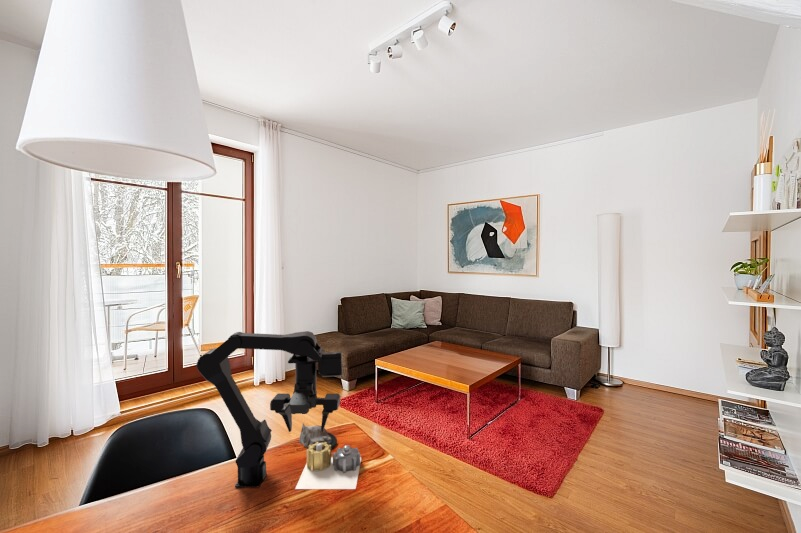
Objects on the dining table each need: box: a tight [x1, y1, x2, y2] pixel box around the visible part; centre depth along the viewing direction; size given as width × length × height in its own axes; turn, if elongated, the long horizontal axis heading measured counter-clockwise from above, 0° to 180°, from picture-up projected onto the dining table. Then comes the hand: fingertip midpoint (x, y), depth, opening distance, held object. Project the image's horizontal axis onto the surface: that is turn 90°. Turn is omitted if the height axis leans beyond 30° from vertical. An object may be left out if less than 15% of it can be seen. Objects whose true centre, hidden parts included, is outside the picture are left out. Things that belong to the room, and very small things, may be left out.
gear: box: [332, 444, 361, 473], centre depth 107 cm, size 8×8×6 cm
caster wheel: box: [298, 422, 338, 450], centre depth 119 cm, size 7×11×10 cm
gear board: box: [294, 443, 362, 490], centre depth 103 cm, size 16×15×8 cm
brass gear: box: [306, 442, 332, 471], centre depth 107 cm, size 7×7×5 cm
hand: (306, 431), depth 103 cm, fingers open, 9 cm apart
